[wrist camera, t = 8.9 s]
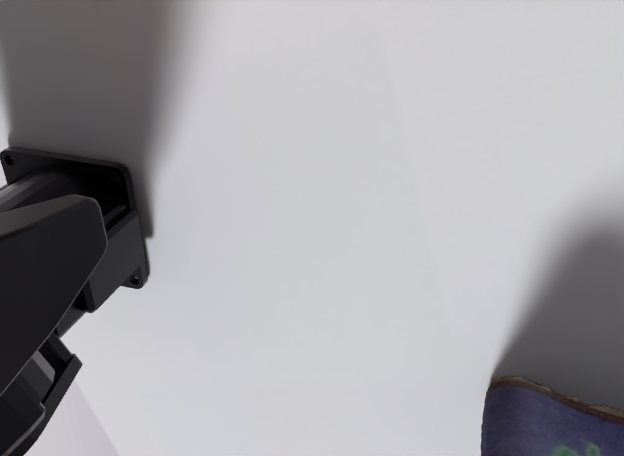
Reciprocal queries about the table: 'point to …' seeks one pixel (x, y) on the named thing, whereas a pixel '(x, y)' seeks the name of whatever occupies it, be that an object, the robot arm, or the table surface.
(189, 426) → the table surface
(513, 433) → the flask
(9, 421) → the robot arm
